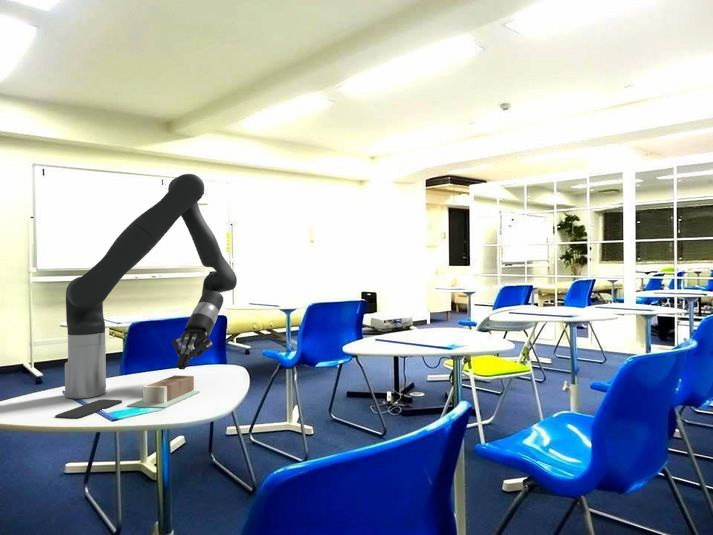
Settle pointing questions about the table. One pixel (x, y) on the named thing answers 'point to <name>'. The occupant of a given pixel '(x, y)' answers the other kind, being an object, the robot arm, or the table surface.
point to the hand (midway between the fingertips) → (180, 367)
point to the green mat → (163, 405)
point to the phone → (88, 409)
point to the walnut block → (168, 389)
